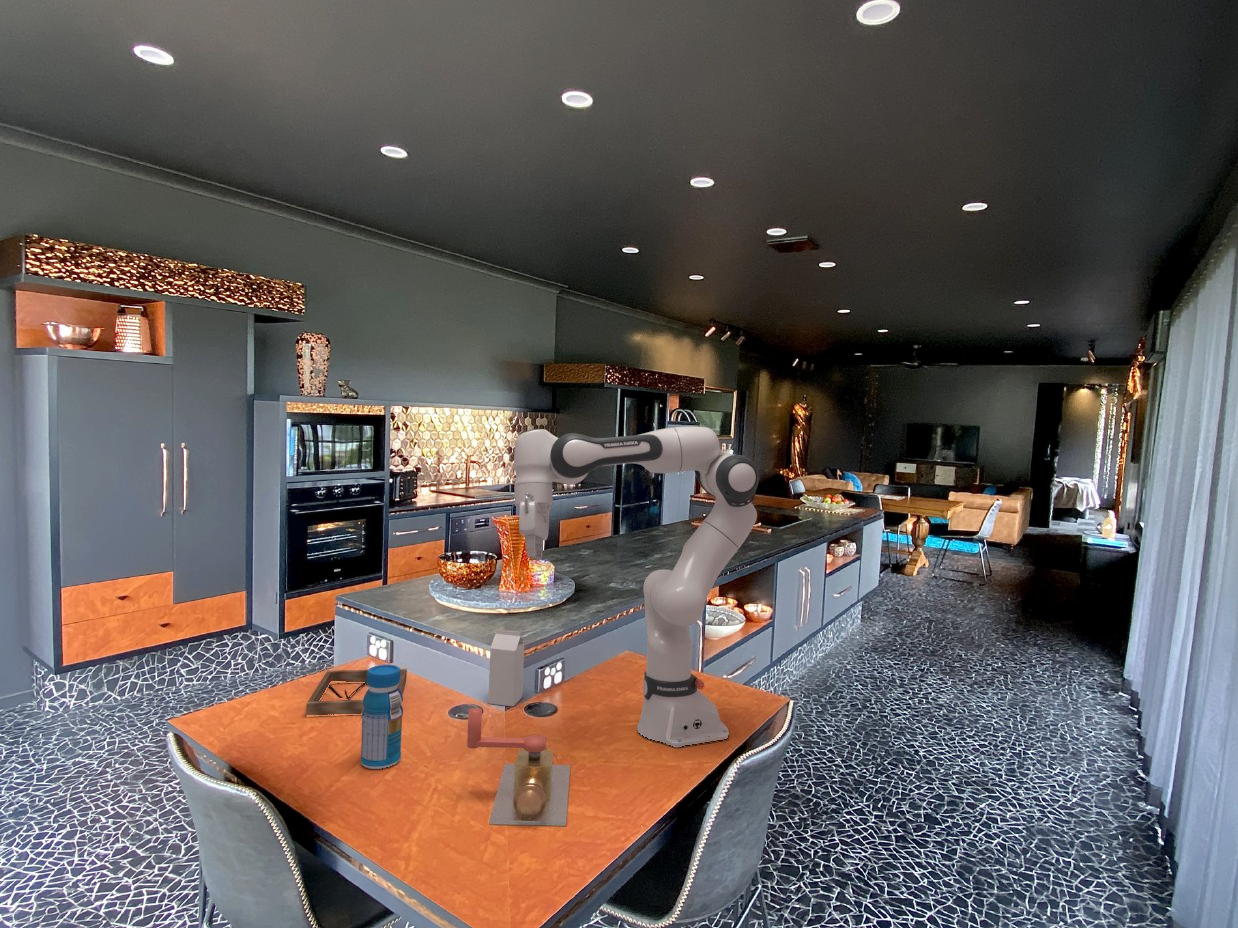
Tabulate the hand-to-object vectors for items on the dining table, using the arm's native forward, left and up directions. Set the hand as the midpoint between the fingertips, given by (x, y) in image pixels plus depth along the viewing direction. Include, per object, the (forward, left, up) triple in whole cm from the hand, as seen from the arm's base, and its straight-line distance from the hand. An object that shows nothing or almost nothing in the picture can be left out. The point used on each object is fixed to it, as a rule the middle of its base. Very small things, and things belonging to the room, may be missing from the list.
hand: (534, 557), depth 155 cm
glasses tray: (+42, -33, -43) cm, 69 cm away
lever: (+6, +22, -34) cm, 41 cm away
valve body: (+1, +23, -43) cm, 49 cm away
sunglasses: (+42, -34, -44) cm, 69 cm away
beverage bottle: (+32, +5, -44) cm, 54 cm away
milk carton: (+4, -27, -44) cm, 52 cm away
